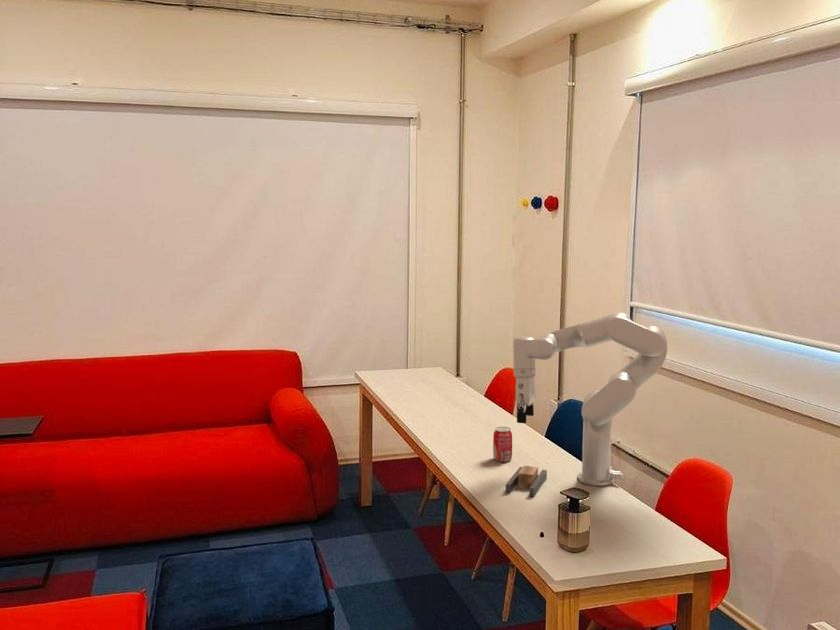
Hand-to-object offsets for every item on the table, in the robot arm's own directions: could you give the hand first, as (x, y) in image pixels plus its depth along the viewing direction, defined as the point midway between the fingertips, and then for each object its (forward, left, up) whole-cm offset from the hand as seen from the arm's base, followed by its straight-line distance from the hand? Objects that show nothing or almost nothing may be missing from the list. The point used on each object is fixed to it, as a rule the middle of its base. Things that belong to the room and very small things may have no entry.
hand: (525, 419), depth 265 cm
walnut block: (-4, +10, -20) cm, 23 cm away
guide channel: (-4, +12, -20) cm, 23 cm away
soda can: (+11, -10, -20) cm, 25 cm away
